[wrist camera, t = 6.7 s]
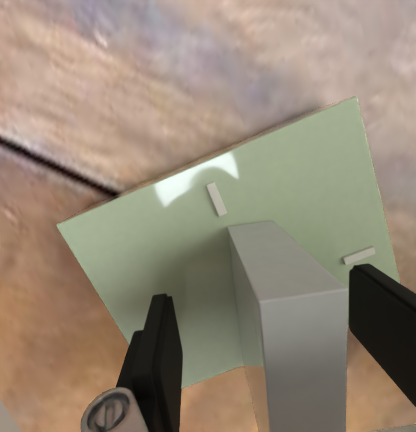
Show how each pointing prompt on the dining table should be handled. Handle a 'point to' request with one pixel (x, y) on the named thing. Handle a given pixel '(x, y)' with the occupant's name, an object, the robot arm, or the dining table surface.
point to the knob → (289, 331)
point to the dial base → (231, 216)
